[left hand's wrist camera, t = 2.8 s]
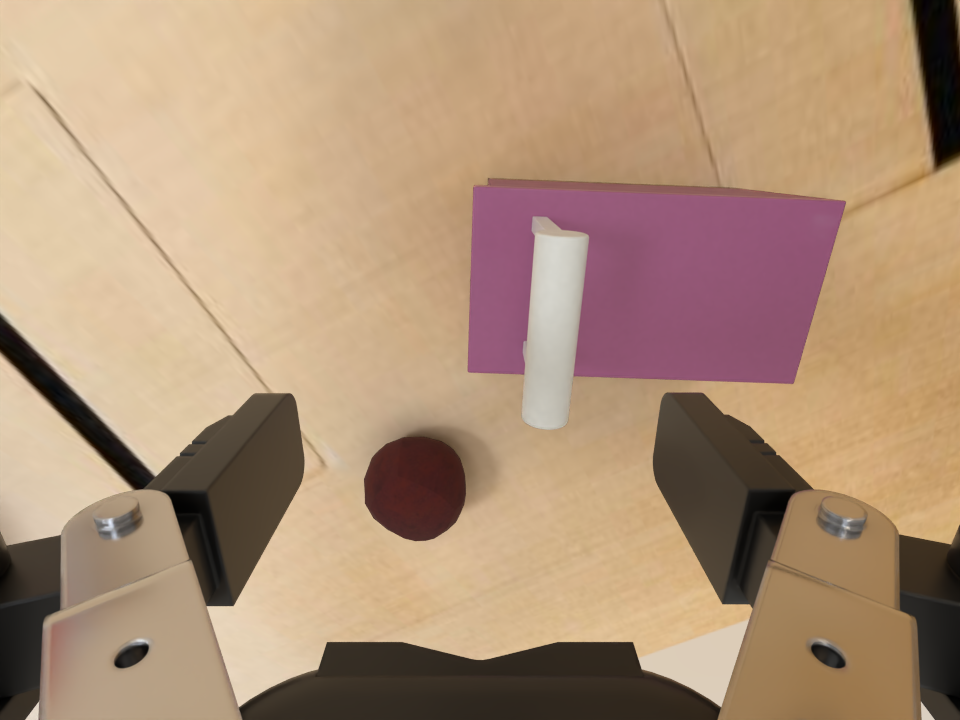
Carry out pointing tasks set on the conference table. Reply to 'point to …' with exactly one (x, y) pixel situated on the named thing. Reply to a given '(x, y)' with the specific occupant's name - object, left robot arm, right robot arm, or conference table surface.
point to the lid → (641, 287)
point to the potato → (415, 487)
